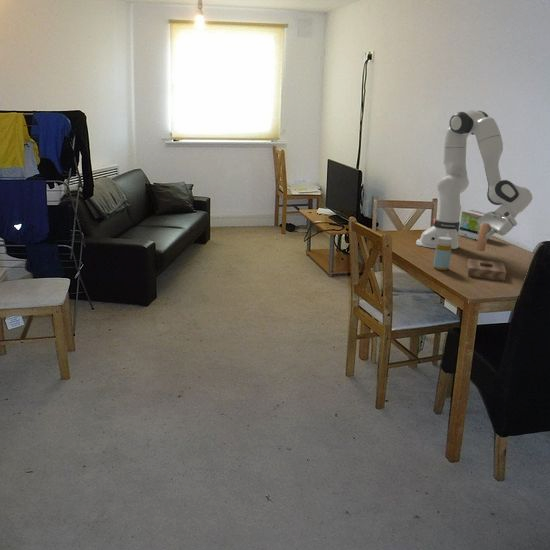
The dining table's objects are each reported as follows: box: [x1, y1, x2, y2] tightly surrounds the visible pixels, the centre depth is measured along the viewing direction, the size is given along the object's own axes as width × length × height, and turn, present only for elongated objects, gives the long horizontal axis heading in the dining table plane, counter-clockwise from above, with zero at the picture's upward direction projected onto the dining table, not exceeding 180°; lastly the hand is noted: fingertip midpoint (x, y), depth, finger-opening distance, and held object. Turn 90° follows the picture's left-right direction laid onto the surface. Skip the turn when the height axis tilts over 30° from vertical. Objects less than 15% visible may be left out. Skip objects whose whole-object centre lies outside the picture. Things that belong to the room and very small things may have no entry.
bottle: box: [432, 236, 452, 271], centre depth 263 cm, size 7×7×15 cm
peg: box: [475, 223, 490, 252], centre depth 272 cm, size 4×4×13 cm
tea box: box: [458, 209, 491, 241], centre depth 326 cm, size 15×10×15 cm
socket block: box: [466, 258, 507, 281], centre depth 261 cm, size 16×16×4 cm
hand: (481, 235), depth 272 cm, fingers closed on peg, 4 cm apart
